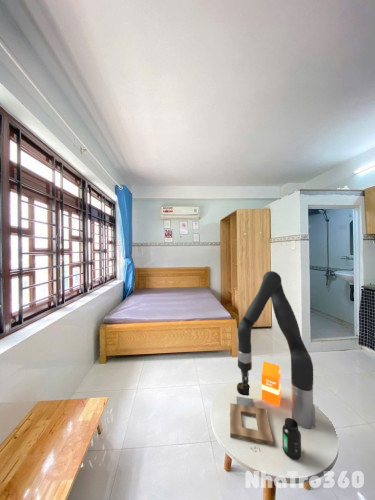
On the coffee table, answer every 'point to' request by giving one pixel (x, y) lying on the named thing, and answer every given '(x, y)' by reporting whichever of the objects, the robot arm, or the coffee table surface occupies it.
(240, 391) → the tape measure
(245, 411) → the board
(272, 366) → the orange juice
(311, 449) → the coffee table surface
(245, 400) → the mat
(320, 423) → the coffee table surface
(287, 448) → the supplement bottle
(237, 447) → the coffee table surface
